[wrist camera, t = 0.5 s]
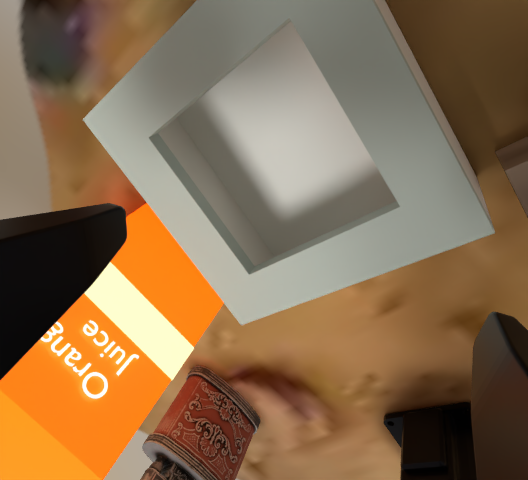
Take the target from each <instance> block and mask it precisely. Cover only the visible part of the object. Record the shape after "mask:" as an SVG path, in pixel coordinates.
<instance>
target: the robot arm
mask: <svg viewBox="0 0 528 480" xmlns="http://www.w3.org/2000/svg"><path fill="white" fill-rule="evenodd" d="M126 239H127V223H126V213H125V210H124V208H123V207H121V206H118V205H114V204H110V203H107V204H100V205H94V206H87V207H81V208H74V209H68V210H61V211H55V212H48V213H42V214H36V215H29V216H23V217H16V218H9V219H3V220H0V381H1V379H2V378H3V377H4V376H5V375H6V374H7V373H8V372H9V371H10V370H11V369H12V368H13V367H14V366H15V365H16V364H17V363H18V362H19V361H20V360H21V359H22V358H23V357H24V355H25V354H26V353H27V352H28V351H29V350H30V349H31V348H32V347H33V346H34V345H35V344H36V343H37V342H38V341H39V340H40V339H41V338H42V337H43V336H44V335H45V334H46V333H47V331H48V330H49V329H50V328H51V327H52V326H53V325H54V324H55V323H56V322H57V321H58V320H59V319H60V318H61V317H62V316H63V315H64V314H65V313H66V312H67V311H68V310H69V309H70V308H71V306H72V305H73V304H74V303H75V302H76V301H77V300H78V299H79V298H80V297H81V296H82V295H83V294H84V293H85V292H86V291H87V290H88V289H89V288H90V286H91V285H92V284H93V283H94V282H95V281H96V279H97V278H98V277H99V276H100V274H101V273H102V272H103V271H104V269H105V268H106V267H107V265H108V264H109V263H110V262H111V260H112V259H113V258H114V256H115V255H116V254H117V253H118V251H119V250H120V249H121V247H122V246H123V245H124V243H125V242H126ZM384 424H385V426H386V427H387V429H388V430H389V431H390V433H391V434H392V436H393V437H394V438H395V440H396V441H397V443H398V444H399V446H400V447H401V480H528V330H527V329H526V328H525V327H524V326H523V325H522V324H521V323H520V322H519V321H518V320H516V319H515V318H514V317H512V316H509V315H505V314H502V313H498V312H492V313H490V314H489V315H488V317H487V319H486V321H485V323H484V325H483V326H482V328H481V330H480V332H479V334H478V336H477V338H476V340H475V343H474V347H473V364H472V392H471V403H468V402H463V403H457V404H451V405H444V406H438V407H432V408H425V409H419V410H413V411H406V412H400V413H394V414H388V415H385V416H384Z"/></svg>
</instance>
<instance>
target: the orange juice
mask: <svg viewBox="0 0 528 480" xmlns="http://www.w3.org/2000/svg"><path fill="white" fill-rule="evenodd" d="M126 223H127V239H126V242H125V243H124V245H123V246H122V247H121V249H120V250H119V251H118V253H117V254H116V255H115V256H114V258H113V259H112V260H111V262H110V263H109V264H108V265H107V267H106V268H105V269H104V271H103V272H102V273H101V274H100V276H99V277H98V278H97V279H96V281H95V282H94V283H93V284H92V285H91V286H90V288H89V289H88V290H87V291H86V292H85V293H84V294H83V295H82V296H81V297H80V298H79V299H78V300H77V301H76V302H75V303H74V304H73V305H72V306H71V308H70V309H69V310H68V311H67V312H66V313H65V314H64V315H63V316H62V317H61V318H60V319H59V320H58V321H57V322H56V323H55V324H54V325H53V326H52V327H51V328H50V329H49V330H48V331H47V333H46V334H45V335H44V336H43V337H42V338H41V339H40V340H39V341H38V342H37V343H36V344H35V345H34V346H33V347H32V348H31V349H30V350H29V351H28V352H27V353H26V354H25V355H24V357H23V358H22V359H21V360H20V361H19V362H18V363H17V364H16V365H15V366H14V367H13V368H12V369H11V370H10V371H9V372H8V373H7V374H6V375H5V376H4V377H3V378H2V379H1V381H0V480H103V479H104V478H105V476H106V475H107V473H108V472H109V470H110V469H111V468H112V466H113V465H114V463H115V462H116V460H117V459H118V457H119V456H120V454H121V453H122V452H123V450H124V448H125V447H126V446H127V444H128V443H129V441H130V440H131V438H132V437H133V435H134V434H135V432H136V431H137V430H138V428H139V427H140V425H141V424H142V422H143V421H144V419H145V418H146V416H147V415H148V413H149V412H150V410H151V409H152V408H153V406H154V405H155V403H156V402H157V400H158V399H159V397H160V396H161V394H162V393H163V391H164V390H165V389H166V387H167V386H168V384H169V383H170V381H171V380H173V378H174V377H175V375H176V374H177V373H178V371H179V370H180V368H181V367H182V365H183V364H184V362H185V361H186V359H187V358H188V356H189V355H190V353H191V352H192V350H193V349H194V346H195V345H196V343H197V342H198V340H199V339H200V337H201V336H202V334H203V333H204V331H205V330H206V328H207V327H208V326H209V324H210V323H211V321H212V320H213V318H214V317H215V315H216V314H217V312H218V311H219V309H220V308H221V306H222V305H223V304H224V302H223V301H222V300H221V298H220V297H219V296H218V294H217V293H216V292H215V291H214V289H213V288H212V287H211V285H210V284H209V283H208V281H207V280H206V279H205V278H204V276H203V275H202V274H201V272H200V271H199V270H198V269H197V267H196V266H195V265H194V263H193V262H192V261H191V259H190V258H189V257H188V256H187V254H186V253H185V252H184V250H183V249H182V248H181V246H180V245H179V244H178V243H177V241H176V240H175V239H174V237H173V236H172V235H171V233H170V232H169V231H168V230H167V228H166V227H165V226H164V224H163V223H162V222H161V221H160V219H159V218H158V217H157V215H156V214H155V213H154V211H153V210H152V209H151V208H150V206H149V205H148V204H147V203H146V204H145V205H143V206H142V207H140V208H139V209H137V210H136V211H134V212H133V213H132V214H130V215H129V216H127V217H126Z"/></svg>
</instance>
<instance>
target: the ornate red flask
mask: <svg viewBox="0 0 528 480" xmlns="http://www.w3.org/2000/svg"><path fill="white" fill-rule="evenodd" d="M259 424H260V418H259V416H258V415H257V414H256V413H255V411H254V410H253V409H252V408H251V406H250V405H249V404H248V403H247V402H246V401H245V400H244V398H243V397H242V396H241V395H240V394H239V393H238V392H237V391H236V390H235V389H234V388H232V387H231V386H230V385H229V384H228V383H227V382H226V381H224V380H223V379H222V378H221V377H219V376H218V375H217V374H215V373H214V372H213V371H211V370H210V369H208V368H207V367H204V366H195V367H193V368H192V369H191V371H190V373H189V374H188V376H187V378H186V382H185V384H184V386H183V387H182V389H181V390H180V392H179V393H178V395H177V397H176V398H175V400H174V401H173V403H172V404H171V406H170V408H169V409H168V411H167V412H166V414H165V415H164V417H163V418H162V420H161V422H160V423H159V425H158V426H157V428H156V429H155V431H154V433H152V434H150V435H149V436H148V438H147V439H146V441H145V442H144V444H143V446H142V448H143V451H144V453H145V454H146V455H147V456H148V457H149V458H150V460H151V461H152V462H153V463H152V464H151V465H150V467H149V468H148V469H147V470H146V471H145V473H144V474H143V476H142V478H141V479H140V480H235V479H236V476H237V474H238V471H239V469H240V466H241V464H242V461H243V459H244V456H245V454H246V451H247V449H248V446H249V444H250V441H251V439H252V436H253V434H255V433H256V431H257V429H258V427H259Z"/></svg>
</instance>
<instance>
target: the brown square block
mask: <svg viewBox="0 0 528 480" xmlns="http://www.w3.org/2000/svg"><path fill="white" fill-rule="evenodd" d="M495 153H496V155H497V157H498V159H499V161H500V163H501V165H502V167H503V169H504V171H505V173H506V175H507V177H508V179H509V181H510V183H511V185H512V187H513V189H514V191H515V193H516V195H517V197H518V199H519V201H520V203H521V205H522V207H523V209H524V211H525V213H526V215H527V217H528V136H527V137H525V138H523V139H521V140H519V141H516V142H514V143H512V144H510V145H508V146H506V147H503V148H501V149H499V150H497V151H495Z"/></svg>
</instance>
